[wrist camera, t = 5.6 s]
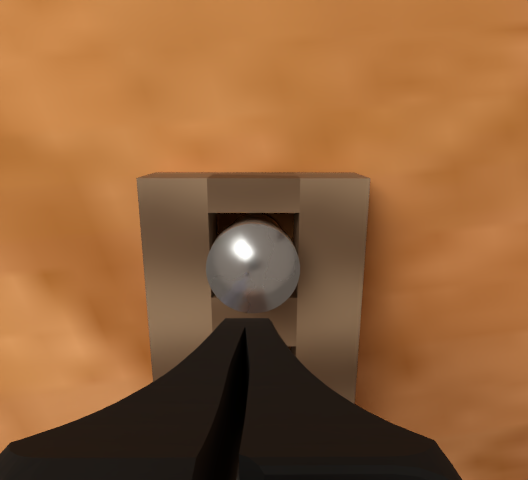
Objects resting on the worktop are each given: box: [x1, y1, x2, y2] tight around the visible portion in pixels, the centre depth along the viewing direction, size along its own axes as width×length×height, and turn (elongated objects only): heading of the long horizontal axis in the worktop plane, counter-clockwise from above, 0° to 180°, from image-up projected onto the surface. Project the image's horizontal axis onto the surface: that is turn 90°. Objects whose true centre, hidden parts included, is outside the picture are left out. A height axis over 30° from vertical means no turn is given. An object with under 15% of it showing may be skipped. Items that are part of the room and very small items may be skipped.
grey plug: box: [206, 213, 300, 313], centre depth 18 cm, size 4×4×4 cm
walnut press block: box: [137, 173, 370, 404], centre depth 20 cm, size 20×10×3 cm, turn 0°
